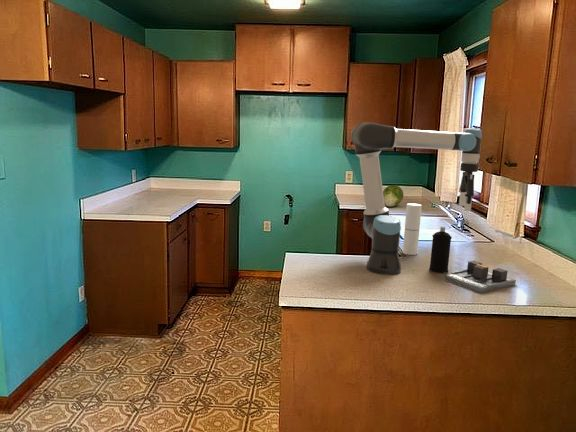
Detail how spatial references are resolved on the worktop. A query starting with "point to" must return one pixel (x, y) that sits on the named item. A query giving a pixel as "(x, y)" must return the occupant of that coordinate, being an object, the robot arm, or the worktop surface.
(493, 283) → the panel
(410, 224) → the cylindrical container
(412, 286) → the worktop surface
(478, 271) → the breaker handle
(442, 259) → the aerosol can
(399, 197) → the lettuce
